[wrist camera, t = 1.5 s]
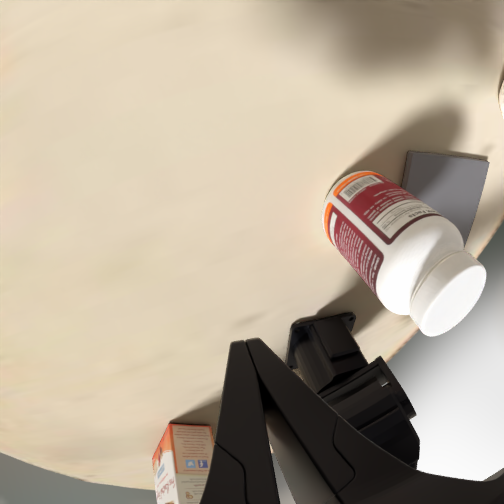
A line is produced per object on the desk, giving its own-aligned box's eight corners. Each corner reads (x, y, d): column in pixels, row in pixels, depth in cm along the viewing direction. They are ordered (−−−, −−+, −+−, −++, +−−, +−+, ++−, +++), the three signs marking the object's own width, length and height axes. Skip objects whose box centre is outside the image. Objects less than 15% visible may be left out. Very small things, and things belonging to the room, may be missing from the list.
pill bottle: (364, 251, 24) (446, 348, 16) (303, 232, 22) (386, 349, 13) (402, 184, 22) (507, 265, 13) (343, 154, 19) (465, 238, 10)
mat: (459, 248, 28) (462, 251, 27) (383, 262, 26) (386, 265, 25) (485, 160, 22) (489, 162, 22) (408, 150, 20) (413, 153, 20)
